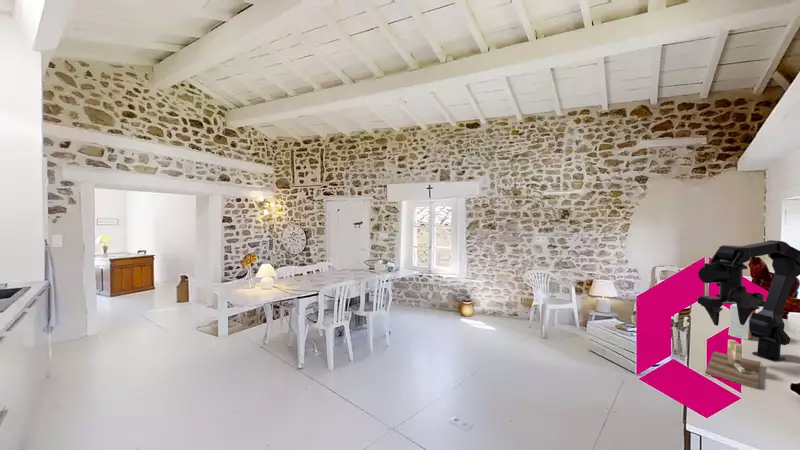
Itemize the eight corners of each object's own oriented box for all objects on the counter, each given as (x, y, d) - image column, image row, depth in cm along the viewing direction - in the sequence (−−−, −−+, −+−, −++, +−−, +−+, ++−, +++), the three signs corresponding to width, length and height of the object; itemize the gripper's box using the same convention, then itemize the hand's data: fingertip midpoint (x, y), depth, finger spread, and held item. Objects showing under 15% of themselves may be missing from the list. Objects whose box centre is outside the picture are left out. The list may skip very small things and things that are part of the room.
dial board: (713, 355, 131) (714, 350, 131) (760, 366, 122) (760, 361, 122) (705, 375, 116) (705, 369, 116) (757, 389, 107) (757, 383, 107)
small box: (748, 340, 145) (750, 309, 144) (728, 335, 150) (729, 305, 150) (754, 336, 150) (756, 305, 149) (734, 331, 155) (735, 302, 154)
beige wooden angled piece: (724, 362, 122) (725, 339, 121) (735, 363, 121) (736, 340, 120) (736, 372, 114) (738, 348, 114) (748, 374, 113) (750, 349, 113)
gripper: (725, 287, 117) (723, 333, 118) (781, 286, 117) (779, 332, 118) (697, 280, 128) (695, 322, 129) (748, 279, 128) (746, 321, 129)
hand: (729, 325), depth 126 cm, fingers open, 9 cm apart
